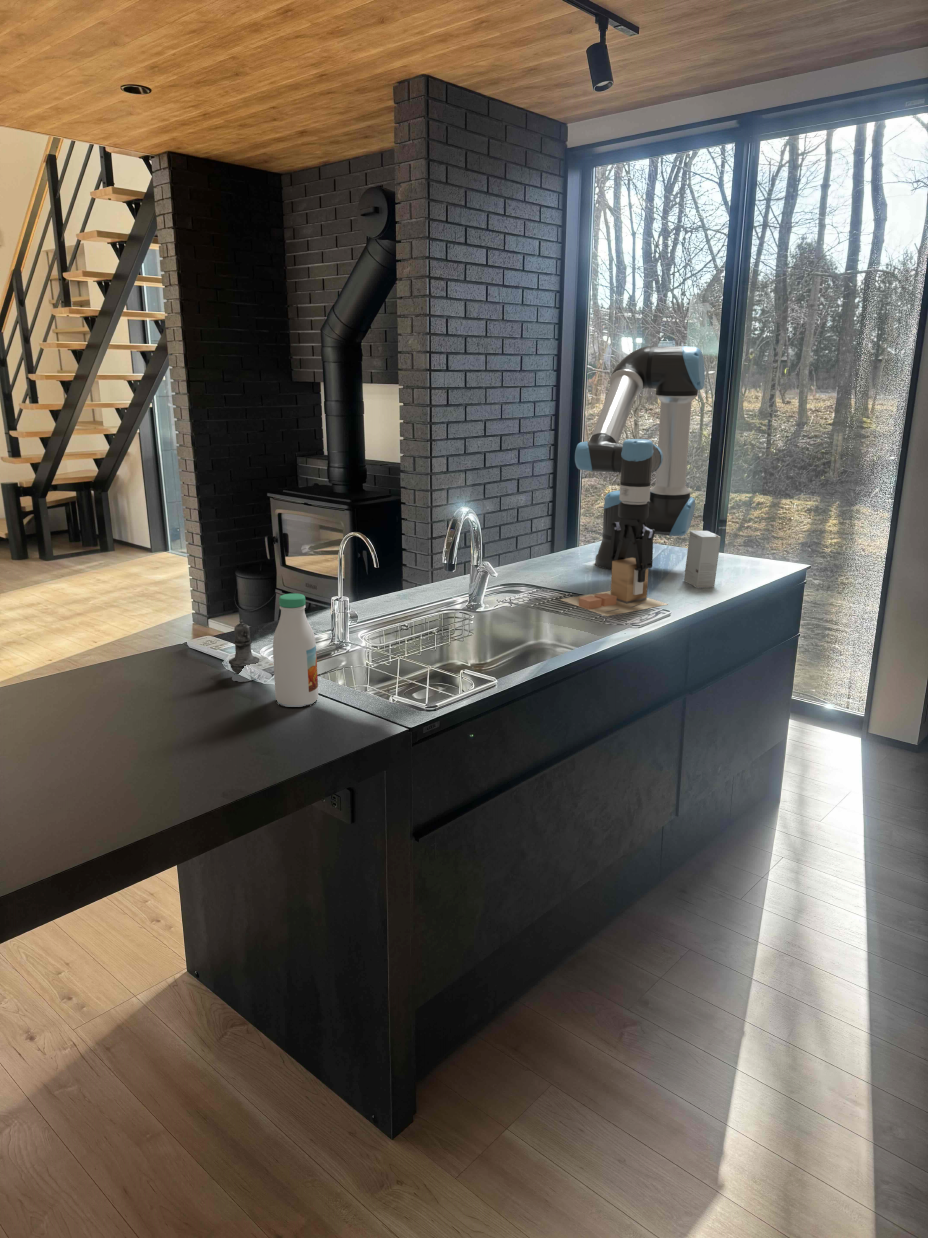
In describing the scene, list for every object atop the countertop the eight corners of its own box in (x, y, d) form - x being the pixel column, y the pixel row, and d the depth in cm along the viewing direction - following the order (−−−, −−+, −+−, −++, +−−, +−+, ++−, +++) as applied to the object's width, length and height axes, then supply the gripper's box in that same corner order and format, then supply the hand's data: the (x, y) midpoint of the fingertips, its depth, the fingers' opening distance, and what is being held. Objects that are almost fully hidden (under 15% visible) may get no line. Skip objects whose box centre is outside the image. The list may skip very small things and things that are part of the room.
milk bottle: (298, 712, 154) (293, 603, 148) (266, 703, 158) (260, 597, 152) (327, 699, 160) (323, 594, 154) (296, 690, 164) (290, 588, 158)
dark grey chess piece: (233, 684, 167) (229, 625, 163) (226, 675, 172) (222, 617, 168) (263, 680, 169) (260, 621, 166) (256, 670, 174) (252, 613, 171)
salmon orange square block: (590, 603, 221) (591, 595, 221) (601, 606, 218) (601, 599, 217) (578, 605, 219) (579, 597, 218) (589, 609, 216) (589, 601, 215)
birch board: (620, 593, 236) (620, 588, 235) (668, 608, 221) (668, 604, 221) (559, 603, 225) (559, 599, 224) (606, 620, 210) (606, 616, 210)
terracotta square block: (605, 600, 224) (606, 593, 223) (616, 604, 220) (616, 596, 220) (593, 602, 222) (594, 595, 221) (604, 606, 218) (604, 598, 218)
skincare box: (683, 581, 249) (687, 530, 245) (702, 580, 251) (707, 529, 246) (696, 588, 242) (701, 535, 237) (716, 587, 243) (721, 535, 239)
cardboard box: (630, 594, 229) (632, 557, 226) (646, 599, 225) (648, 561, 222) (610, 598, 226) (612, 560, 223) (626, 603, 221) (628, 565, 218)
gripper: (597, 498, 224) (593, 585, 230) (650, 508, 208) (643, 601, 215) (619, 496, 228) (614, 581, 234) (672, 506, 212) (665, 597, 219)
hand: (628, 590), depth 224 cm, fingers closed on cardboard box, 6 cm apart
